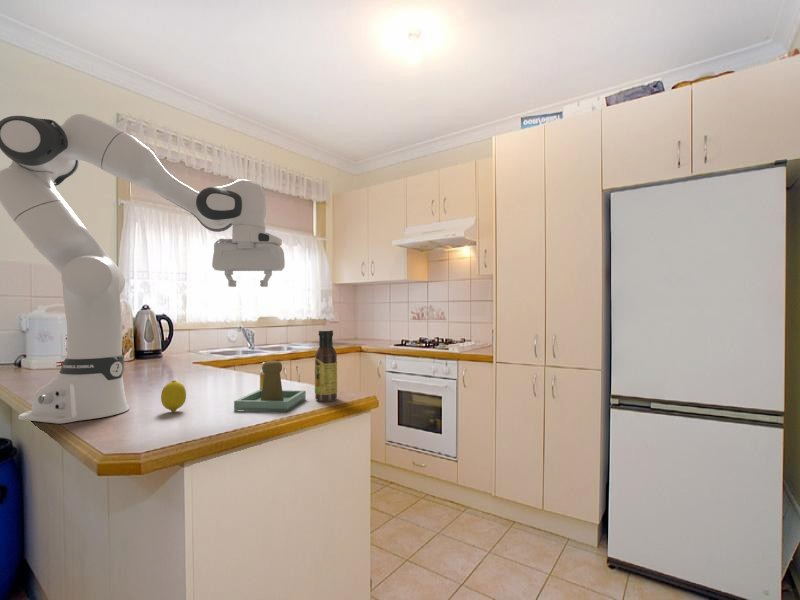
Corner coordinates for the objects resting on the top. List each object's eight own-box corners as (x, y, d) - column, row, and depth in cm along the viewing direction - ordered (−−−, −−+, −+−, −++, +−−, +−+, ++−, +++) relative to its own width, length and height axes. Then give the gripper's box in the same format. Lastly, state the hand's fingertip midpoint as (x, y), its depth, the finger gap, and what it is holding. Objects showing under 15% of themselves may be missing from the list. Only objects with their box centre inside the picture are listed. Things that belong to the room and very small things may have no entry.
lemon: (155, 413, 100) (156, 381, 100) (175, 408, 105) (175, 377, 105) (171, 415, 98) (171, 382, 98) (191, 410, 103) (191, 379, 103)
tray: (234, 410, 102) (234, 401, 102) (258, 398, 116) (258, 390, 116) (287, 411, 101) (287, 401, 101) (305, 399, 115) (305, 390, 115)
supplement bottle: (257, 393, 124) (257, 362, 124) (275, 391, 127) (275, 360, 127) (261, 396, 119) (262, 364, 120) (280, 394, 122) (280, 362, 122)
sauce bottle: (315, 397, 117) (315, 329, 117) (337, 396, 118) (336, 329, 118) (314, 402, 110) (314, 330, 111) (337, 401, 111) (337, 330, 112)
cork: (275, 404, 105) (275, 362, 105) (255, 403, 106) (255, 362, 107) (288, 400, 111) (288, 360, 111) (268, 398, 112) (269, 359, 112)
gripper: (208, 236, 112) (207, 285, 112) (278, 235, 110) (277, 286, 110) (220, 240, 118) (219, 287, 118) (287, 240, 116) (286, 287, 116)
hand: (248, 286), depth 114 cm, fingers open, 8 cm apart
